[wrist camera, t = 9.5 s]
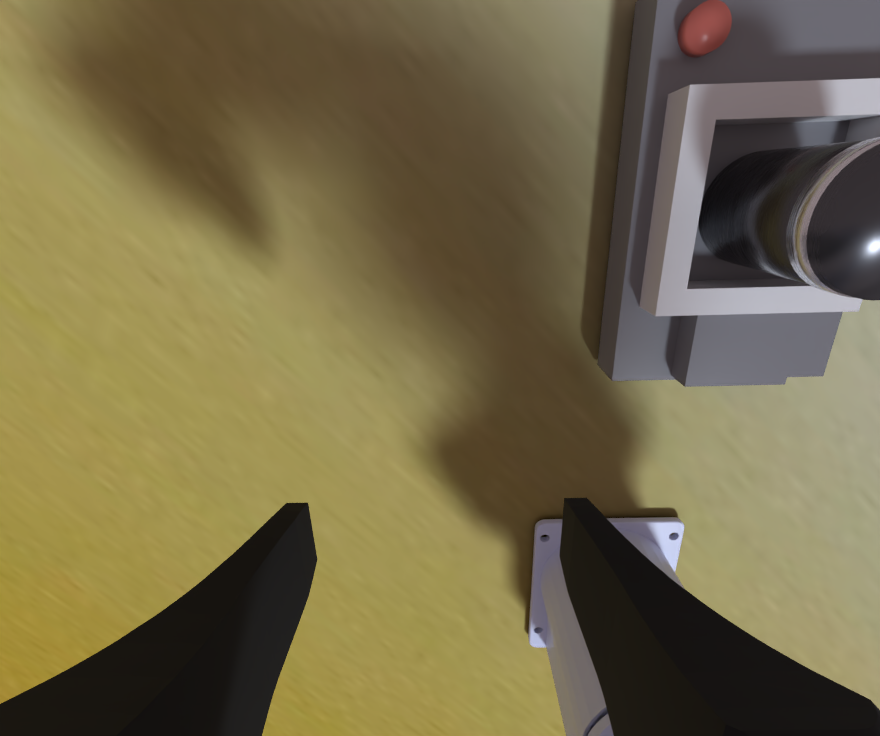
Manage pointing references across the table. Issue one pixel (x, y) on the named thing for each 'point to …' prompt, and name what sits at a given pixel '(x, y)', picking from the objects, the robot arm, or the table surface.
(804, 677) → the robot arm
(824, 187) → the lens
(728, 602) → the table surface
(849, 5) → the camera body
